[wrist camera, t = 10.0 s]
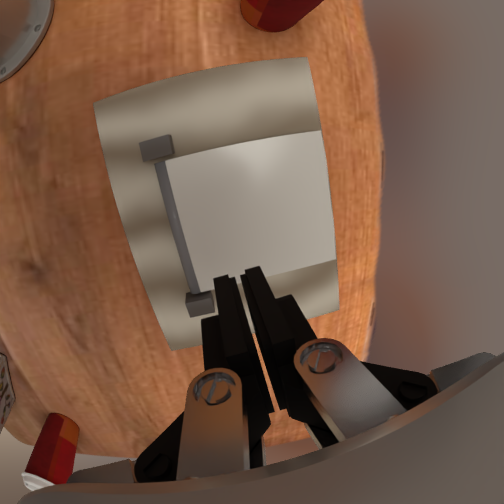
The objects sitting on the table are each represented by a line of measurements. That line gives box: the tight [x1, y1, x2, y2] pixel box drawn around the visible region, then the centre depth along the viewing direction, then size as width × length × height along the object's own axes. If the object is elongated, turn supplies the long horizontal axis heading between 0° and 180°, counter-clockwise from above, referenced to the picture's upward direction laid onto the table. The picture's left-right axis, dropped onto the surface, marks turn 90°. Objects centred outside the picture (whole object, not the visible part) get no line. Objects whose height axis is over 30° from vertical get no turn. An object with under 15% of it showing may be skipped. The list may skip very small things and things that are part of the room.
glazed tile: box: [154, 130, 336, 294], centre depth 25 cm, size 12×1×14 cm
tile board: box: [93, 57, 339, 351], centre depth 25 cm, size 26×19×3 cm
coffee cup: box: [22, 413, 79, 491], centre depth 28 cm, size 8×8×15 cm
